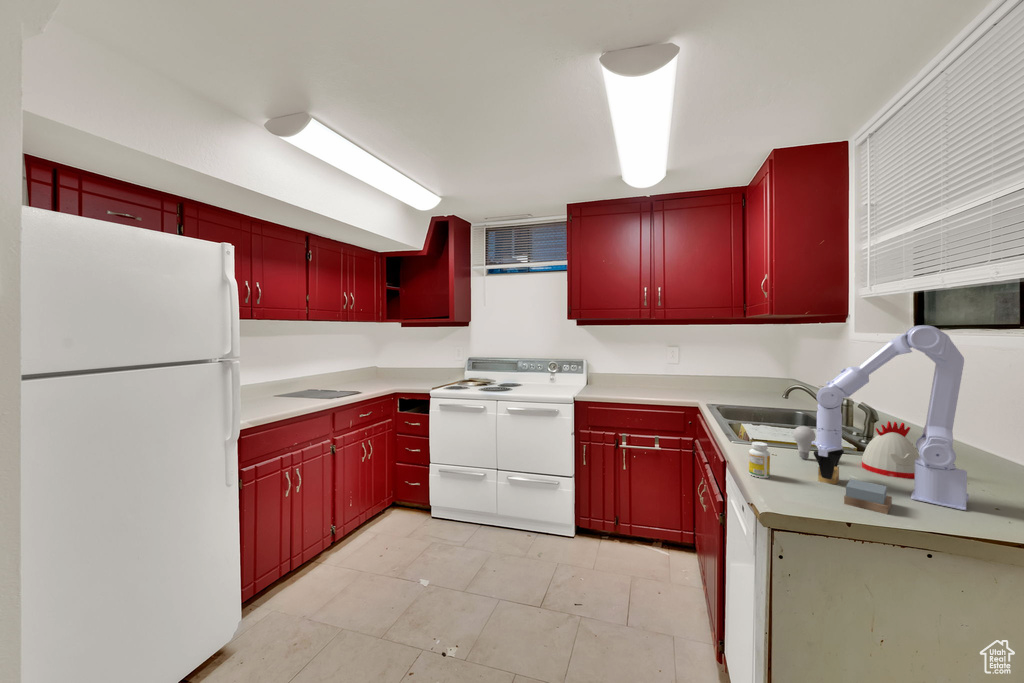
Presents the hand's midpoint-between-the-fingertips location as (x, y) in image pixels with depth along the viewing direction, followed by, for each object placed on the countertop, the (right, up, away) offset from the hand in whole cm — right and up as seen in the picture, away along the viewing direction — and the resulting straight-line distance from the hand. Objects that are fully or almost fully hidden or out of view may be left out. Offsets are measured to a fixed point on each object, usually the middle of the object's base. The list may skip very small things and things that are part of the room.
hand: (828, 476), depth 119 cm
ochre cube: (0, -1, 0) cm, 1 cm away
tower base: (-2, -3, -15) cm, 16 cm away
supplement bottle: (-17, -2, +5) cm, 18 cm away
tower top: (-2, 0, -15) cm, 16 cm away
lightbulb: (+7, -1, +20) cm, 21 cm away
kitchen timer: (+25, -1, +8) cm, 26 cm away
